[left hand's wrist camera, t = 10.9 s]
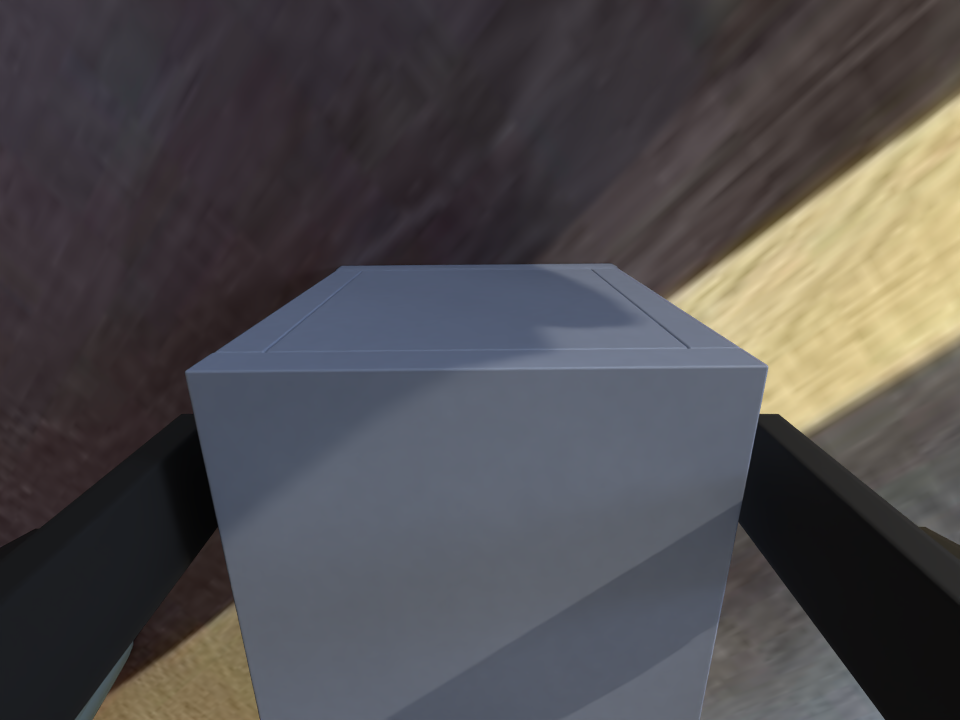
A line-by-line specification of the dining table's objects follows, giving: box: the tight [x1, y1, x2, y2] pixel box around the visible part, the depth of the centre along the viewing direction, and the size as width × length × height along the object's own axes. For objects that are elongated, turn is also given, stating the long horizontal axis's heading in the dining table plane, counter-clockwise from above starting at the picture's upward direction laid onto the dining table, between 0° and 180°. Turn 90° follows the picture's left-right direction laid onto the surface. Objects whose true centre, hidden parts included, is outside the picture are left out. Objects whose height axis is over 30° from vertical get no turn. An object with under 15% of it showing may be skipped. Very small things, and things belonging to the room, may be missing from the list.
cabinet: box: [185, 264, 768, 720], centre depth 17 cm, size 15×11×12 cm
